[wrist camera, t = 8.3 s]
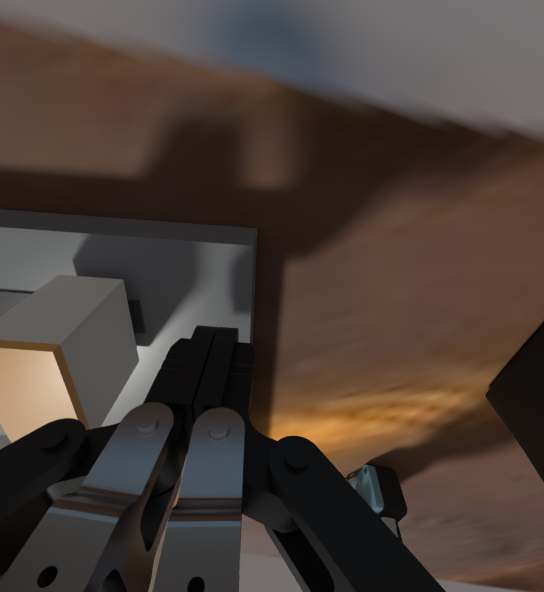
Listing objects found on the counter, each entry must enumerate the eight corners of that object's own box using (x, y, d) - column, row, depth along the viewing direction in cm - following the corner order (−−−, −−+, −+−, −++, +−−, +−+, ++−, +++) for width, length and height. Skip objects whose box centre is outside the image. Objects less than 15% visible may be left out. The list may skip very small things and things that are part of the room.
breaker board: (257, 228, 13) (236, 315, 7) (247, 468, 22) (234, 592, 16) (-174, 196, 13) (-518, 259, 8) (-14, 448, 22) (-118, 565, 16)
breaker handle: (124, 278, 12) (52, 352, 8) (140, 362, 14) (89, 450, 10) (57, 273, 12) (-45, 344, 8) (83, 357, 14) (12, 444, 10)
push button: (372, 517, 24) (420, 740, 16) (307, 504, 24) (320, 727, 15) (417, 470, 21) (508, 718, 12) (343, 453, 20) (385, 702, 12)
